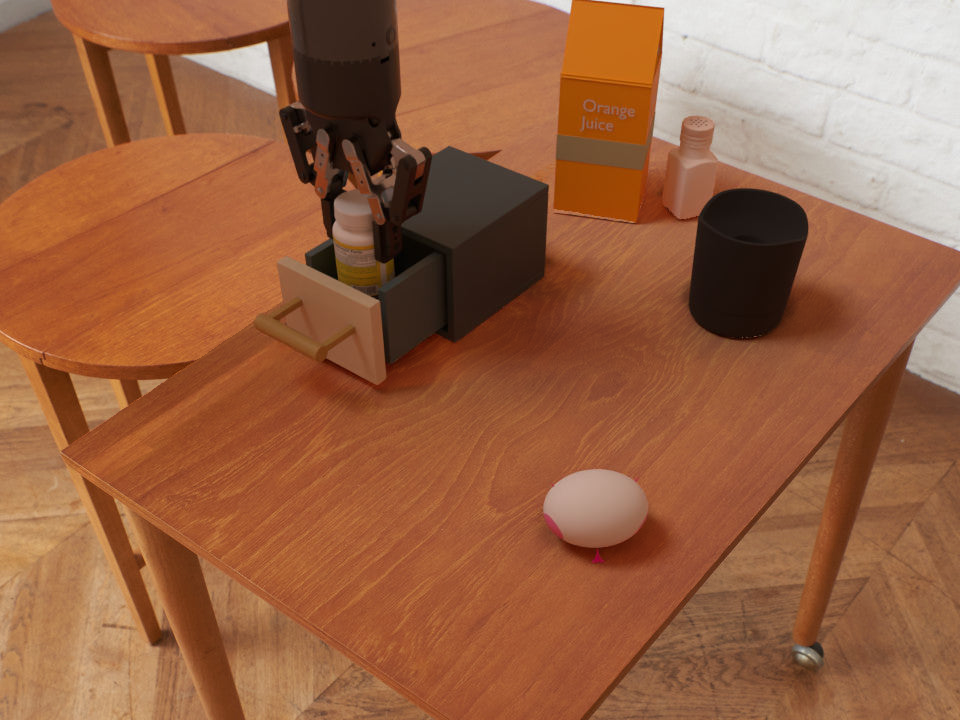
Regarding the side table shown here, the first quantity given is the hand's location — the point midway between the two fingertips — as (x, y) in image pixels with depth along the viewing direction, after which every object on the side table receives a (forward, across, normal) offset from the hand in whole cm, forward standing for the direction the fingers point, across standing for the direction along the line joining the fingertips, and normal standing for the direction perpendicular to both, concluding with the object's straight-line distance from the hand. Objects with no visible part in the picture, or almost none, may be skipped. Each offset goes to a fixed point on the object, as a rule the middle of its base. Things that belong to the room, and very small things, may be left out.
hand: (363, 246), depth 86 cm
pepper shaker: (+10, +10, +37) cm, 40 cm away
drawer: (+9, 0, -1) cm, 9 cm away
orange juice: (+10, +2, +33) cm, 35 cm away
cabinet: (+10, 0, +11) cm, 15 cm away
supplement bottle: (+5, 0, 0) cm, 5 cm away
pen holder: (+10, +23, +24) cm, 35 cm away
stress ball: (+10, +28, -7) cm, 31 cm away
